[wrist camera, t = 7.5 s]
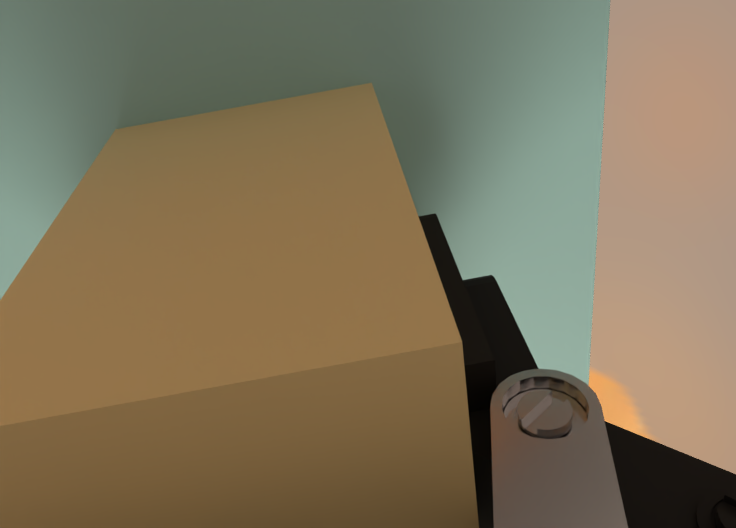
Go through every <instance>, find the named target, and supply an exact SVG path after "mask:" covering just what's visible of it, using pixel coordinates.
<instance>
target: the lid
mask: <svg viewBox="0 0 736 528" xmlns="http://www.w3.org/2000/svg"><path fill="white" fill-rule="evenodd" d="M609 14H610V0H0V528H479V522H478V511H477V500H476V489H475V478H474V467H473V456H472V445H471V434H470V422H469V411H468V400H467V389H466V378H465V367H464V356H463V345H462V340H461V337H460V334H459V331H458V328H457V326H456V323H455V320H454V317H453V314H452V311H451V308H450V305H449V303H448V300H447V297H446V294H445V291H444V288H443V285H442V283H441V280H440V277H439V274H438V271H437V268H436V265H435V263H434V260H433V257H432V254H431V251H430V248H429V245H428V242H427V240H426V237H425V234H424V231H423V228H422V225H421V222H420V220H419V217H418V216H423V215H429V214H434V213H435V214H436V215H437V217H438V220H439V222H440V225H441V227H442V230H443V232H444V235H445V237H446V240H447V242H448V245H449V247H450V250H451V252H452V254H453V257H454V259H455V262H456V264H457V267H458V269H459V272H460V274H461V277H462V279H463V280H466V279H471V278H477V277H482V276H488V275H492V276H494V278H495V279H496V281H497V283H498V285H499V287H500V289H501V291H502V293H503V296H504V298H505V300H506V302H507V304H508V306H509V308H510V310H511V312H512V314H513V316H514V318H515V321H516V323H517V325H518V327H519V329H520V331H521V333H522V335H523V337H524V339H525V341H526V343H527V345H528V348H529V350H530V352H531V354H532V356H533V358H534V360H535V362H536V364H537V366H538V368H539V369H551V370H558V371H561V372H564V373H567V374H571V375H573V376H575V377H576V378H578V379H580V380H581V381H583V382H585V383H586V384H587V385H588V383H589V365H590V347H591V329H592V313H593V295H594V276H595V259H596V242H597V225H598V223H597V222H598V207H599V190H600V172H601V153H602V136H603V118H604V101H605V84H606V67H607V65H606V64H607V49H608V48H607V47H608V31H609Z"/></svg>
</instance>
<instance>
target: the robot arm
mask: <svg viewBox="0 0 736 528" xmlns="http://www.w3.org/2000/svg"><path fill="white" fill-rule="evenodd" d="M418 217H419V220H420V222H421V225H422V228H423V231H424V234H425V237H426V240H427V242H428V245H429V248H430V251H431V254H432V257H433V260H434V263H435V265H436V268H437V271H438V274H439V277H440V280H441V283H442V285H443V288H444V291H445V294H446V297H447V300H448V303H449V305H450V308H451V311H452V314H453V317H454V320H455V323H456V326H457V328H458V331H459V334H460V337H461V340H462V345H463V356H464V367H465V378H466V389H467V400H468V411H469V422H470V434H471V445H472V456H473V467H474V478H475V489H476V500H477V511H478V522H479V528H736V474H733V473H731V472H729V471H726V470H723V469H721V468H718V467H716V466H714V465H711V464H709V463H706V462H704V461H701V460H699V459H696V458H694V457H692V456H689V455H687V454H684V453H682V452H679V451H677V450H674V449H672V448H669V447H667V446H665V445H662V444H660V443H657V442H655V441H652V440H650V439H647V438H645V437H642V436H640V435H637V434H635V433H633V432H630V431H628V430H625V429H623V428H620V427H618V426H615V425H613V424H610V423H608V422H605V421H604V417H603V412H602V408H601V404H600V402H599V400H598V398H597V395H596V393H595V392H594V391H593V390H592V389H591V388H590V387H589V386H588V385H587V384H586V383H585V382H583V381H581V380H580V379H578V378H576V377H575V376H573V375H571V374H567V373H564V372H561V371H558V370H551V369H539V368H538V366H537V364H536V362H535V360H534V358H533V356H532V354H531V352H530V350H529V348H528V345H527V343H526V341H525V339H524V337H523V335H522V333H521V331H520V329H519V327H518V325H517V323H516V321H515V318H514V316H513V314H512V312H511V310H510V308H509V306H508V304H507V302H506V300H505V298H504V296H503V293H502V291H501V289H500V287H499V285H498V283H497V281H496V279H495V278H494V276H492V275H488V276H482V277H477V278H471V279H466V280H463V279H462V277H461V274H460V272H459V269H458V267H457V264H456V262H455V259H454V257H453V254H452V252H451V250H450V247H449V245H448V242H447V240H446V237H445V235H444V232H443V230H442V227H441V225H440V222H439V220H438V217H437V215H436V214H435V213H434V214H429V215H423V216H418Z"/></svg>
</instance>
